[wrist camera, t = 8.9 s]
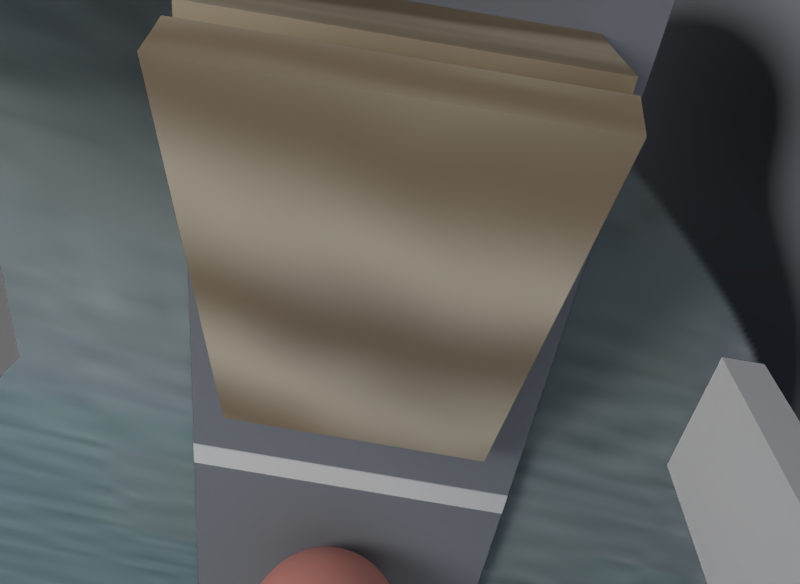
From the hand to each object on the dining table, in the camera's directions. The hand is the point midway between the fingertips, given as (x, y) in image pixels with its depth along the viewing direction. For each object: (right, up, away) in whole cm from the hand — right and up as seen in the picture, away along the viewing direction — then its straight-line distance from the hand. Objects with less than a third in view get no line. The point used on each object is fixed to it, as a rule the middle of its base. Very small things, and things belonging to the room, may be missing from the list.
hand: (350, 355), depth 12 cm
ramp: (0, +3, +8) cm, 8 cm away
